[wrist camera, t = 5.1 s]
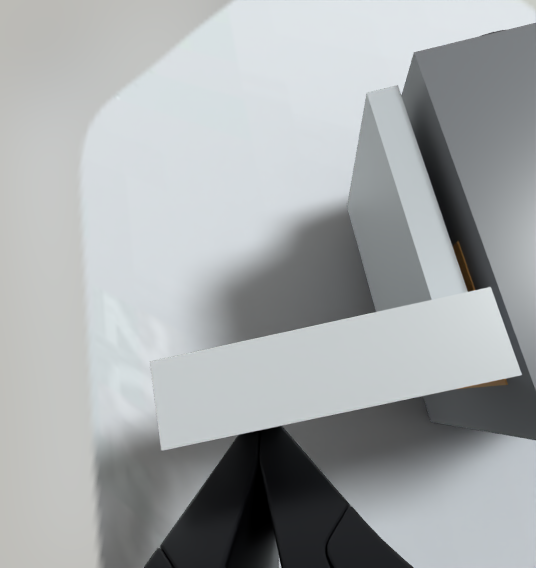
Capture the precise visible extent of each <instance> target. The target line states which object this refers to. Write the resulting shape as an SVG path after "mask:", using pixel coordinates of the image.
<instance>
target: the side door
mask: <svg viewBox="0 0 536 568" xmlns="http://www.w3.org/2000/svg"><path fill="white" fill-rule="evenodd" d="M347 209H348V212H349V216H350V219H351V223H352V227H353V230H354V234H355V238H356V241H357V245H358V248H359V252H360V256H361V259H362V263H363V267H364V270H365V274H366V277H367V281H368V285H369V288H370V292H371V295H372V299H373V303H374V306H375V310H376V312H374V313H369V314H364V315H360V316H355V317H351V318H346V319H342V320H337V321H333V322H328V323H323V324H319V325H314V326H310V327H305V328H301V329H296V330H291V331H287V332H282V333H278V334H273V335H269V336H264V337H259V338H255V339H250V340H246V341H241V342H237V343H232V344H227V345H223V346H218V347H214V348H209V349H205V350H200V351H195V352H191V353H186V354H182V355H177V356H173V357H168V358H164V359H159V360H154V361H150V367H151V375H152V383H153V391H154V398H155V406H156V414H157V422H158V429H159V437H160V445H161V451H163V450H168V449H172V448H177V447H182V446H187V445H191V444H196V443H201V442H206V441H211V440H215V439H220V438H225V437H230V436H234V435H239V434H244V433H249V432H253V431H258V430H263V429H268V428H272V427H277V426H282V425H287V424H291V423H296V422H301V421H306V420H311V419H315V418H320V417H325V416H330V415H334V414H339V413H344V412H349V411H353V410H358V409H363V408H368V407H372V406H377V405H382V404H387V403H391V402H396V401H401V400H406V399H410V398H415V397H420V396H425V395H430V394H434V393H439V392H444V391H449V390H453V389H458V388H463V387H468V386H472V385H477V384H482V383H487V382H491V381H496V380H501V379H506V378H510V377H515V376H520V375H522V374H521V371H520V368H519V365H518V362H517V359H516V357H515V354H514V351H513V348H512V345H511V343H510V340H509V337H508V334H507V331H506V328H505V326H504V323H503V320H502V317H501V314H500V312H499V309H498V306H497V303H496V300H495V297H494V295H493V292H492V289H491V287H488V288H483V289H479V290H474V291H470V292H468V291H467V288H466V285H465V282H464V279H463V276H462V273H461V270H460V267H459V264H458V261H457V258H456V255H455V252H454V249H453V247H452V244H451V241H450V238H449V235H448V232H447V229H446V226H445V223H444V220H443V217H442V214H441V211H440V208H439V205H438V202H437V199H436V196H435V193H434V190H433V188H432V185H431V182H430V179H429V176H428V173H427V170H426V167H425V164H424V161H423V158H422V155H421V152H420V149H419V146H418V143H417V140H416V137H415V134H414V131H413V129H412V126H411V123H410V120H409V117H408V114H407V111H406V108H405V105H404V102H403V99H402V96H401V93H400V90H399V87H398V85H397V86H393V87H388V88H384V89H380V90H376V91H372V92H368V93H367V94H366V100H365V106H364V111H363V117H362V123H361V129H360V134H359V140H358V146H357V152H356V157H355V163H354V169H353V175H352V181H351V186H350V192H349V198H348V204H347Z"/></svg>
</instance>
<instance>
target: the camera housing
mask: <svg viewBox="0 0 536 568" xmlns="http://www.w3.org/2000/svg"><path fill="white" fill-rule="evenodd" d="M402 99H403V102H404V105H405V108H406V111H407V114H408V117H409V120H410V123H411V126H412V129H413V131H414V134H415V137H416V140H417V143H418V146H419V149H420V152H421V155H422V158H423V161H424V164H425V167H426V170H427V173H428V176H429V179H430V182H431V185H432V188H433V190H434V193H435V196H436V199H437V202H438V205H439V208H440V211H441V214H442V217H443V220H444V223H445V226H446V229H447V232H448V235H449V238H450V241H451V244H452V247H453V249H454V252H455V255H456V258H457V261H458V264H459V267H460V270H461V273H462V276H463V279H464V282H465V285H466V288H467V291H468V292H470V291H474V290H479V289H483V288H488V287H491V289H492V292H493V295H494V297H495V300H496V303H497V306H498V309H499V312H500V314H501V317H502V320H503V323H504V326H505V328H506V331H507V334H508V337H509V340H510V343H511V345H512V348H513V351H514V354H515V357H516V359H517V362H518V365H519V368H520V371H521V374H522V375H520V376H515V377H510V378H506V379H501V380H496V381H491V382H487V383H482V384H477V385H472V386H468V387H463V388H458V389H453V390H449V391H444V392H439V393H434V394H430V395H425V396H423V398H424V401H425V405H426V408H427V412H428V415H429V418H430V422H434V423H440V424H446V425H451V426H457V427H463V428H469V429H474V430H480V431H486V432H492V433H497V434H503V435H509V436H515V437H520V438H526V439H532V440H536V23H533V24H529V25H525V26H521V27H517V28H513V29H509V30H502V31H496V32H492V33H489V34H485V35H482V36H479V37H476V38H472V39H467V40H463V41H459V42H455V43H451V44H447V45H443V46H439V47H434V48H430V49H426V50H422V51H418V52H414V54H413V58H412V61H411V65H410V68H409V72H408V75H407V79H406V82H405V86H404V89H403V92H402Z"/></svg>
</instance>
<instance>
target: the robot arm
mask: <svg viewBox="0 0 536 568" xmlns="http://www.w3.org/2000/svg"><path fill="white" fill-rule="evenodd" d="M279 558H280V563H281V567H282V568H413V567H412V566H411V565H410V564H409V563H408V562H407V561H405V560H404V559H403V558H402V557H401V556H400V555H399V554H398V553H396V552H395V551H394V550H393V549H392V548H391V547H390V546H389V545H388V544H387V543H386V542H385V541H383V540H382V539H381V538H380V537H379V536H378V535H377V533H376V532H375V531H374V530H373V529H372V528H371V527H370V526H369V525H368V524H367V523H366V522H365V521H364V520H363V519H362V517H361V516H360V515H359V514H358V513H357V512H356V510H355V509H354V508H353V507H351V506H350V504H349V503H348V502H347V501H346V500H345V498H344V497H343V496H342V495H341V494H340V493H339V492H338V490H337V489H336V488H335V487H334V486H333V485H332V483H331V482H330V481H329V480H328V479H327V478H326V476H325V475H324V474H323V473H322V472H321V471H320V470H319V468H318V467H317V466H316V465H315V464H314V463H313V461H312V460H311V459H310V458H309V457H308V456H307V455H306V453H305V452H304V451H303V450H302V449H301V448H300V446H299V445H298V444H297V443H296V442H295V441H294V439H293V438H292V437H291V436H290V435H289V434H288V433H287V431H286V430H285V429H284V428H283V427H282V426H277V427H272V428H268V429H263V430H258V431H253V432H249V433H244V434H239V435H238V437H237V438H236V439H235V441H234V442H233V444H232V445H231V446H230V448H229V449H228V451H227V452H226V454H225V455H224V456H223V458H222V459H221V461H220V462H219V463H218V465H217V466H216V468H215V469H214V470H213V472H212V473H211V475H210V476H209V478H208V479H207V480H206V482H205V483H204V485H203V486H202V487H201V489H200V490H199V492H198V493H197V494H196V496H195V497H194V499H193V500H192V501H191V503H190V504H189V506H188V507H187V509H186V510H185V511H184V513H183V514H182V516H181V517H180V518H179V520H178V521H177V523H176V524H175V525H174V527H173V528H172V530H171V531H170V533H169V534H168V535H167V537H166V538H165V540H164V541H163V542H162V544H161V545H160V548H158V549H157V550H156V551H155V553H154V554H153V555H152V557H151V558H150V560H149V561H148V562H147V564H146V565H145V567H144V568H279Z"/></svg>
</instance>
